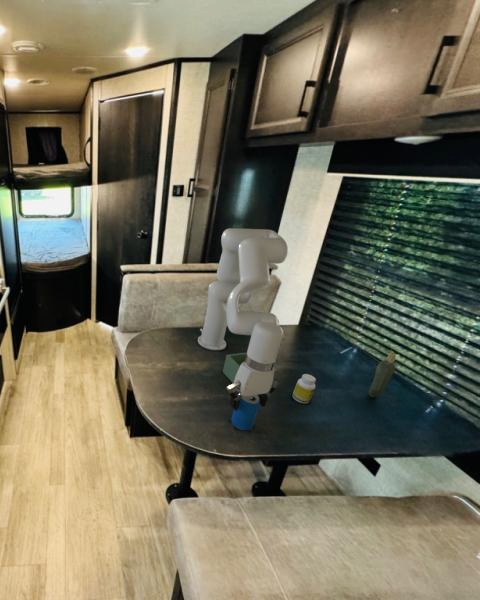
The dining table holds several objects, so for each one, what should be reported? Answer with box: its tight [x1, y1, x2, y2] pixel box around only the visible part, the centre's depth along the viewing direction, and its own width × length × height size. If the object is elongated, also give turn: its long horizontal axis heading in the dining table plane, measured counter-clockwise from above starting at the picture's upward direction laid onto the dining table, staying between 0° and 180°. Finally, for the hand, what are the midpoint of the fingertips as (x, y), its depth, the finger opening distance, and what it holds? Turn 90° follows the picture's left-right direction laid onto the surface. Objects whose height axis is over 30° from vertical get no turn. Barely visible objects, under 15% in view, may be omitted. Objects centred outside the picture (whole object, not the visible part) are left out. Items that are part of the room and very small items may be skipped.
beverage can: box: [230, 395, 261, 431], centre depth 102 cm, size 6×6×12 cm
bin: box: [222, 352, 278, 384], centre depth 123 cm, size 13×13×9 cm
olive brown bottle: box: [368, 349, 396, 398], centre depth 111 cm, size 4×4×20 cm
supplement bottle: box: [291, 373, 317, 404], centre depth 113 cm, size 5×5×10 cm
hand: (247, 405), depth 101 cm, fingers open, 9 cm apart
